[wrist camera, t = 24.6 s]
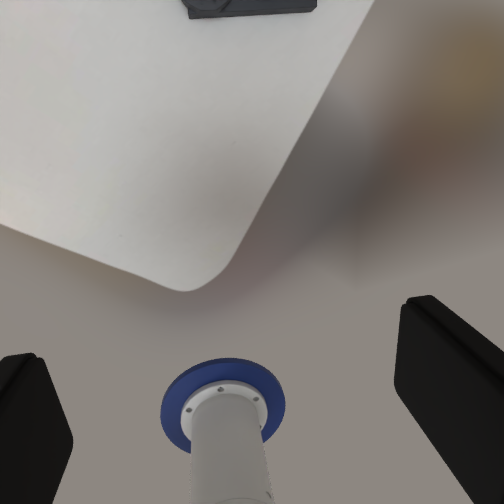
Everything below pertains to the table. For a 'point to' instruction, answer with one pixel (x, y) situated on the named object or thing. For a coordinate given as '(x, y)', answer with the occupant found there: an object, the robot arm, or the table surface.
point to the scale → (245, 7)
